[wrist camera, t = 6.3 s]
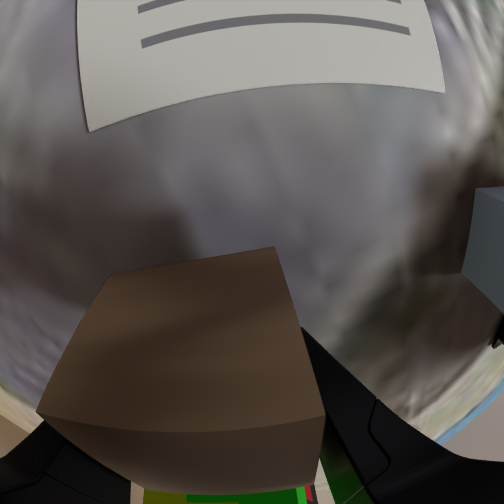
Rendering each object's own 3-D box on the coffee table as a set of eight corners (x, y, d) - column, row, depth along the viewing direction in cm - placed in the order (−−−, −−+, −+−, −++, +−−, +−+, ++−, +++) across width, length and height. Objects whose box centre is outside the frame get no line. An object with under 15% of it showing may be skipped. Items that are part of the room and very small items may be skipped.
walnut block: (274, 246, 7) (325, 415, 3) (288, 363, 10) (314, 484, 5) (110, 274, 7) (35, 411, 3) (164, 377, 10) (148, 489, 5)
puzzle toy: (209, 462, 21) (210, 543, 12) (153, 423, 16) (140, 536, 8) (306, 446, 20) (324, 534, 11) (281, 403, 16) (304, 541, 7)
